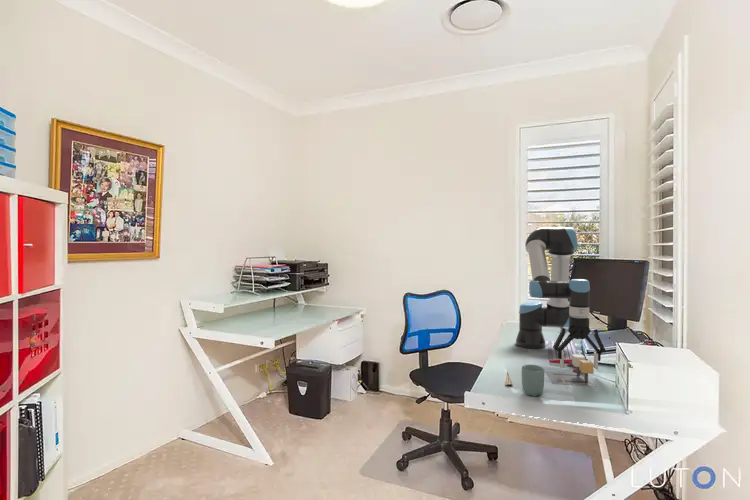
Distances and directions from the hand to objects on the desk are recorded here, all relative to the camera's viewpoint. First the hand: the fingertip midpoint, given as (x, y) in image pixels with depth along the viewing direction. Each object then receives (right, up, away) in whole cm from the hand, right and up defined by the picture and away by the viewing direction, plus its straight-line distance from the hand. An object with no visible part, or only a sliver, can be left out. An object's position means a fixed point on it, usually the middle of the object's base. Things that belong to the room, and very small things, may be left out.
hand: (578, 367), depth 168 cm
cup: (-26, -5, -16) cm, 31 cm away
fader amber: (-1, -4, -8) cm, 9 cm away
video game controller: (+3, -5, +9) cm, 10 cm away
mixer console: (-6, -5, -3) cm, 8 cm away
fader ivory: (0, -3, 0) cm, 3 cm away
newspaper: (-26, -6, +2) cm, 26 cm away
